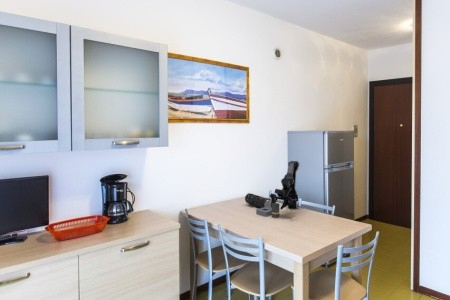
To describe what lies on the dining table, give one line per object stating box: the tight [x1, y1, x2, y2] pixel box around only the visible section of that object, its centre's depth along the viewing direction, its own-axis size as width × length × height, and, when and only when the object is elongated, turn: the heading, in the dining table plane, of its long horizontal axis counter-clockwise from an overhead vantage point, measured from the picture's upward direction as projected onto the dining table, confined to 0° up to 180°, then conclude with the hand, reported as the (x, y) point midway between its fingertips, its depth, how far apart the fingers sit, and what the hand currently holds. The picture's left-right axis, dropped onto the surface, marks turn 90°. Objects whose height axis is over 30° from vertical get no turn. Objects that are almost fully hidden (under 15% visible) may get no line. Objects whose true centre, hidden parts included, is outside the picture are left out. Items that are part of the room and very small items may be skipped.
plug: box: [271, 202, 280, 219], centre depth 228 cm, size 4×4×11 cm
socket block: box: [255, 207, 272, 218], centre depth 236 cm, size 10×10×4 cm
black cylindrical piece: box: [244, 192, 272, 209], centre depth 259 cm, size 10×28×10 cm, turn 31°
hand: (275, 208), depth 229 cm, fingers open, 9 cm apart
